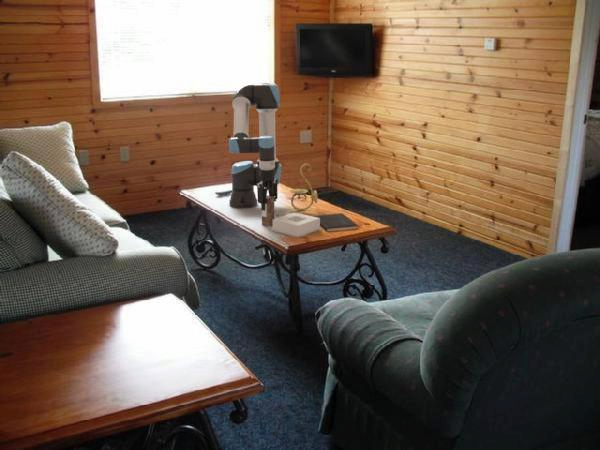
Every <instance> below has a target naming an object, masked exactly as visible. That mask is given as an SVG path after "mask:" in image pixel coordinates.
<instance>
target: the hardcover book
mask: <svg viewBox="0 0 600 450" xmlns="http://www.w3.org/2000/svg"><path fill="white" fill-rule="evenodd" d="M312 216H313V217H317V218H320V228H322V229H323V230H324V231H325V232H326V233H328V232H336V231H337V230H338V231H346V230H348V229H349V230H355V229H356V228H357V229H358V226H359V225H358V224H357V223H356V222H354V221H353V219H351V218H350V217H348V216H347V215H346V214H344V213H341V212H340V213H329V214H328V213H327V214H317V215H312ZM357 229H356V230H357Z"/></svg>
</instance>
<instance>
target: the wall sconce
mask: <svg viewBox="0 0 600 450" xmlns="http://www.w3.org/2000/svg"><path fill="white" fill-rule="evenodd" d="M305 166H308V167H309V168H306V171H308V172H310V171H311V170H312V166H311V164H310V163H303V164H301V166H300V168H299V172H300V175H301V177H302V178H303V180H304V181H305V182H306V184H307V185H308V187H309V189H310V192H311V195H310V199H311V201H310V204H309V205H307V206H306V207H304V208H298V207H296V206H295V204H294V199H295V196H297V200H300V202H302V203H305V202H306V201H307V198H308V197H307V195H306V194H307V193H308V192H309V189H304V188H294V189H290V190H289V192H290V193H292V194H293V195H292V197H291V200H290V204H291V206H292V208H293V209H294V210H297V211H306V210H308V209H309V208H311V207H312V206H313V205H314V204H313V203H315V204H318V193H317V190H316V189H315V190H313V188H312V185H311V183H310V182H309V180H308V179H307V178H306V177H305V175H304V174H303V167H305ZM302 196H303V197H304V199H301V198H302Z"/></svg>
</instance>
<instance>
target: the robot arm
mask: <svg viewBox="0 0 600 450" xmlns="http://www.w3.org/2000/svg"><path fill="white" fill-rule="evenodd" d="M278 86H279V85H278V84H277V83H274V82H271V83H270V82H268V83H267V82H264V83H262V82H260V83H257V82H256V83H251V82H250V83H245V84H244V85H242V86H240V87H239V88H238V89H237V90H236V91H235V93H234V94H233V97H232V101H231V106H232V108H233V137H230V138H229V139H228V149H229V153H230V154H258V157H259V158H258V159H257V160H256V163H254V162H253V161H252V160H244V161H239V162H235V163H234V164H232V166H231V172H230V173H231V174H230V175H231V188H232V189H231V193H230V199H229V206H230V207H232V208H238V209H242V208H243V209H245V208H246V209H247V208H254V207H256V206H257V205H258V203H259V204H260V205H261V207H260V208H261V217H262V216H264V217H267V204H266V197H267V195H268V196H273V197H274V203H275V202H277V200H278V199H279V198H278V193H279V192H278V185H279V184H280V181H281V175H282V173H281V172H282V163H279V162H280V161H279V159H278V158H277V157H276V154H277V151H276V150H277V149H276V148H277V147H276V112H277V111H278V109H279V108H278V107H279V106H281V99H280V93H279V91H280V90H279V87H278ZM251 107H255V110H256V111H257V112H258V130H259V131H258V132H259V133H258V134H259V137H250V136H249V134H250V133H249V132H250V131H249V126H250V125H249V124H250V123H249V122H250V120H249V119H250V118H249V117H250V116H249V115H250V112H249V111H250V108H251ZM255 187H256V189H257V196H256V193H255ZM274 207H275V204H274Z"/></svg>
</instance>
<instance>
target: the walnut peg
mask: <svg viewBox="0 0 600 450" xmlns="http://www.w3.org/2000/svg"><path fill="white" fill-rule="evenodd" d="M266 204H267V217H264V216H262V215H261V225H262V226H266V227H270V226H271V227H272V226H273V219H275V206H274V205H275V201H274V197H273V196H269V194H267V197H266Z"/></svg>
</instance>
